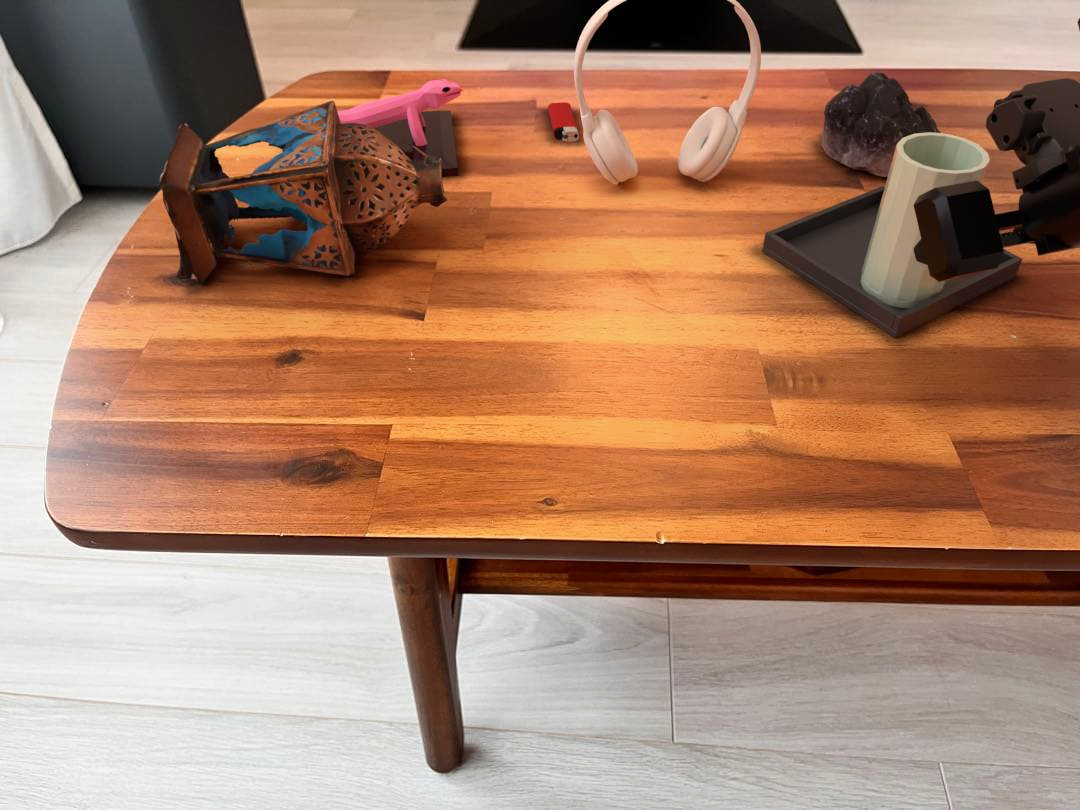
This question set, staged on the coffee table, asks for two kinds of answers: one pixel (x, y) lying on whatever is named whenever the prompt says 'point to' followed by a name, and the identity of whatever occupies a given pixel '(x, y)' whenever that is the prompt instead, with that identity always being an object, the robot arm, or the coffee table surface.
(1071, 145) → the robot arm
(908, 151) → the tumbler
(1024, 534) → the coffee table surface
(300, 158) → the lantern
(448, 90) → the lizard figurine
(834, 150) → the crystal cluster
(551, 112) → the lighter
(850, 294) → the tray
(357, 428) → the coffee table surface
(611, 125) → the headphones
